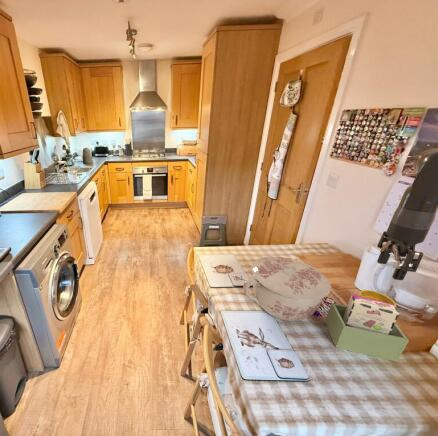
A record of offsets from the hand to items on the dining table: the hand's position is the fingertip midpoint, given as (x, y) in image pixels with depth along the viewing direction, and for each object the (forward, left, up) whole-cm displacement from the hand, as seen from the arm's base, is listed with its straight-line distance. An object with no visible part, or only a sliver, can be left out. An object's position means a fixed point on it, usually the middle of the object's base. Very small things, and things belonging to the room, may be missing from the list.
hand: (388, 270), depth 71 cm
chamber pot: (+23, -10, -30) cm, 40 cm away
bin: (0, 0, -30) cm, 30 cm away
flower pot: (-9, -14, -30) cm, 34 cm away
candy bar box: (0, 0, -30) cm, 30 cm away
